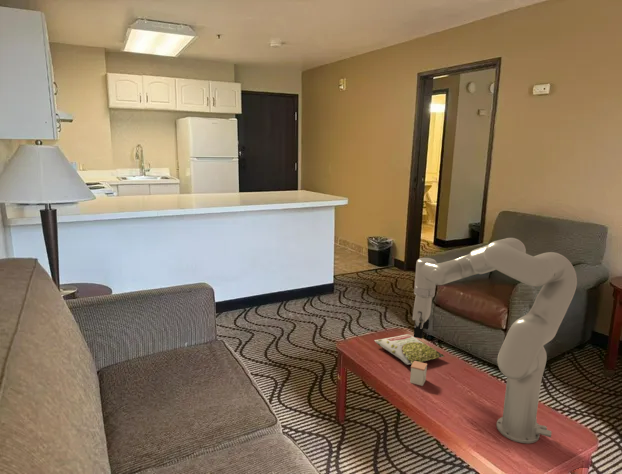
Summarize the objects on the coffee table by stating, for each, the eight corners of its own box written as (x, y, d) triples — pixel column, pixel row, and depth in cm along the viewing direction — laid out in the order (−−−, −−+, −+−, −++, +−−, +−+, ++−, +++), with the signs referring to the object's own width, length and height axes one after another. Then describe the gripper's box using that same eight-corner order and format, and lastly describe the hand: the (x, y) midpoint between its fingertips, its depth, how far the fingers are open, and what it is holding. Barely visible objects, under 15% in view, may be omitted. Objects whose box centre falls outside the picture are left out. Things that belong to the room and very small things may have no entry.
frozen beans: (408, 358, 173) (373, 334, 195) (407, 371, 174) (372, 346, 196) (446, 349, 182) (408, 328, 204) (444, 362, 183) (407, 339, 205)
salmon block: (426, 380, 168) (427, 363, 166) (423, 386, 163) (424, 369, 162) (413, 376, 170) (414, 360, 169) (409, 382, 166) (410, 366, 164)
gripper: (420, 283, 169) (416, 323, 172) (408, 295, 154) (405, 339, 157) (439, 286, 165) (435, 327, 169) (429, 299, 150) (425, 343, 154)
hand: (421, 332), depth 163 cm, fingers open, 9 cm apart
